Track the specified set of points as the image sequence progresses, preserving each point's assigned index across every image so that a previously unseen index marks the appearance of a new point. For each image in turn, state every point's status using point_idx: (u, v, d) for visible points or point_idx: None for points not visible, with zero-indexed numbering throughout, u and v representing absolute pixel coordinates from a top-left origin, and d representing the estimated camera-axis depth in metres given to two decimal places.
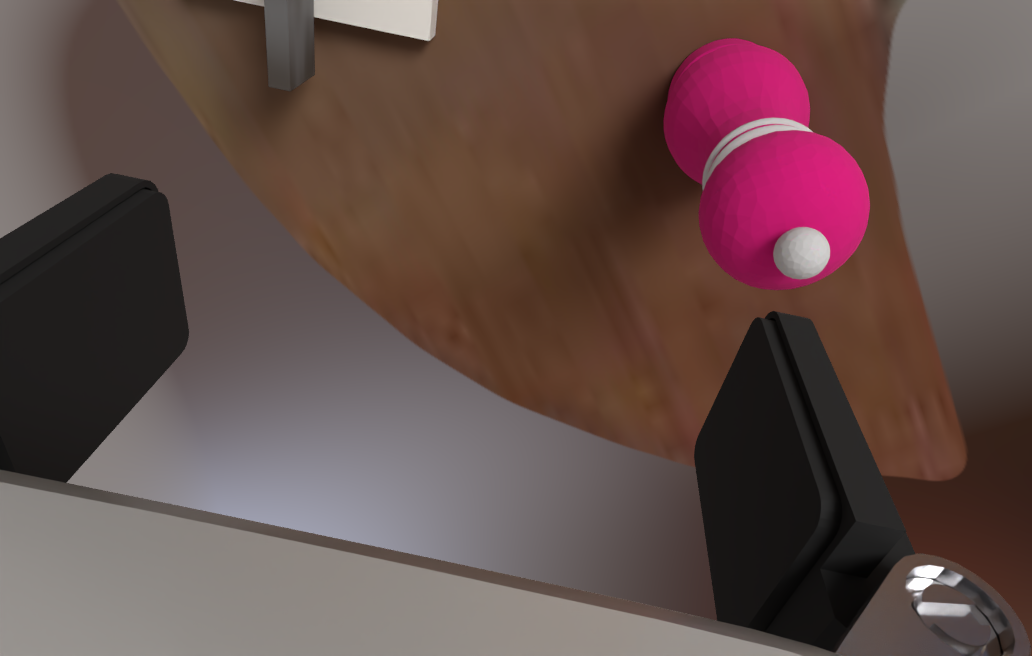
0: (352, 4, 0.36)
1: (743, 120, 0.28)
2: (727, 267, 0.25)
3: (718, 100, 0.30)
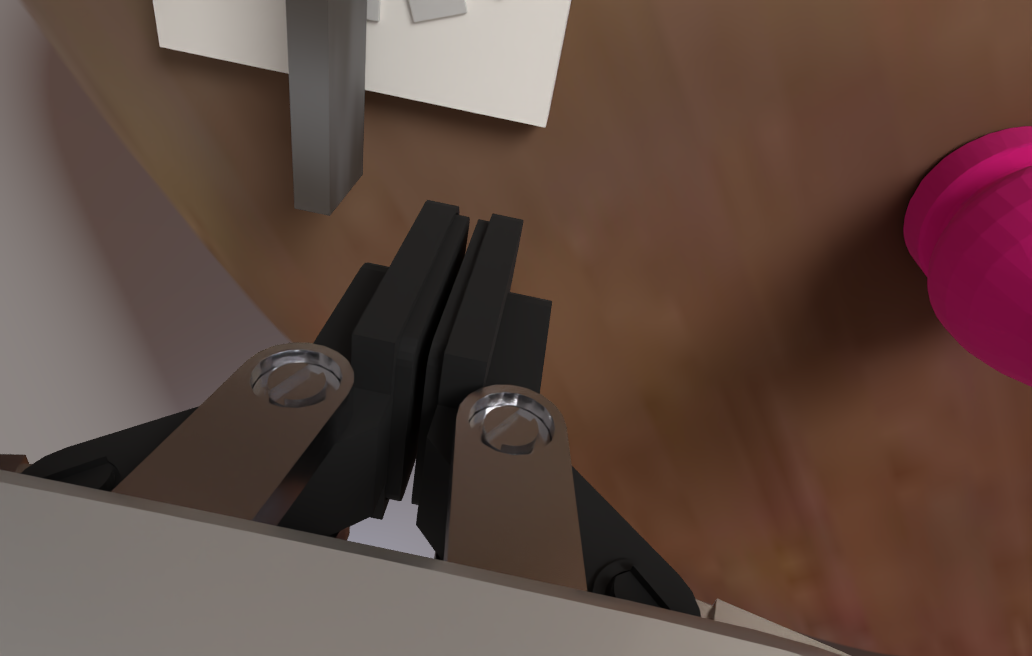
0: (426, 71, 0.22)
1: None
2: None
3: None
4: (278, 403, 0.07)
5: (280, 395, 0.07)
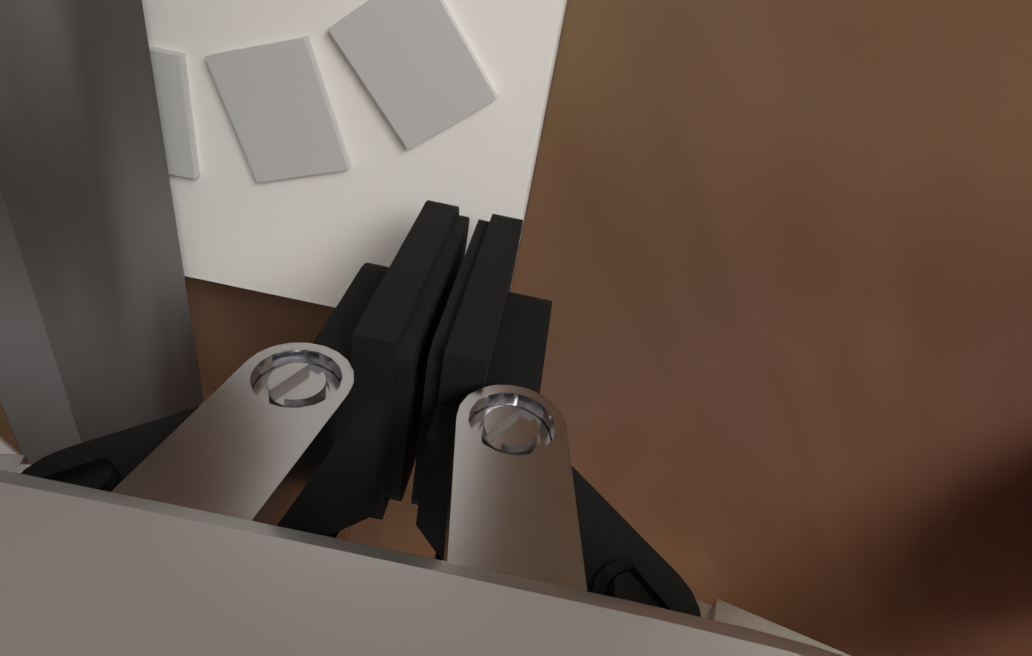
0: (290, 255, 0.13)
1: None
2: None
3: None
4: (278, 403, 0.07)
5: (280, 395, 0.07)
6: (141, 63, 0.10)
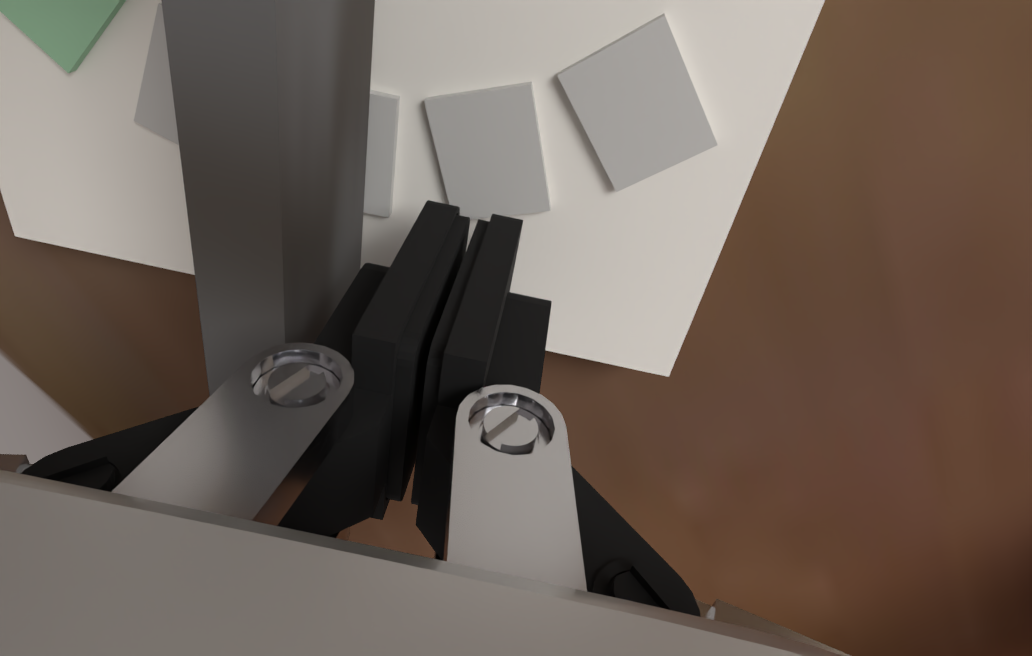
0: None
1: None
2: None
3: None
4: (279, 403, 0.07)
5: (281, 395, 0.07)
6: (364, 107, 0.10)
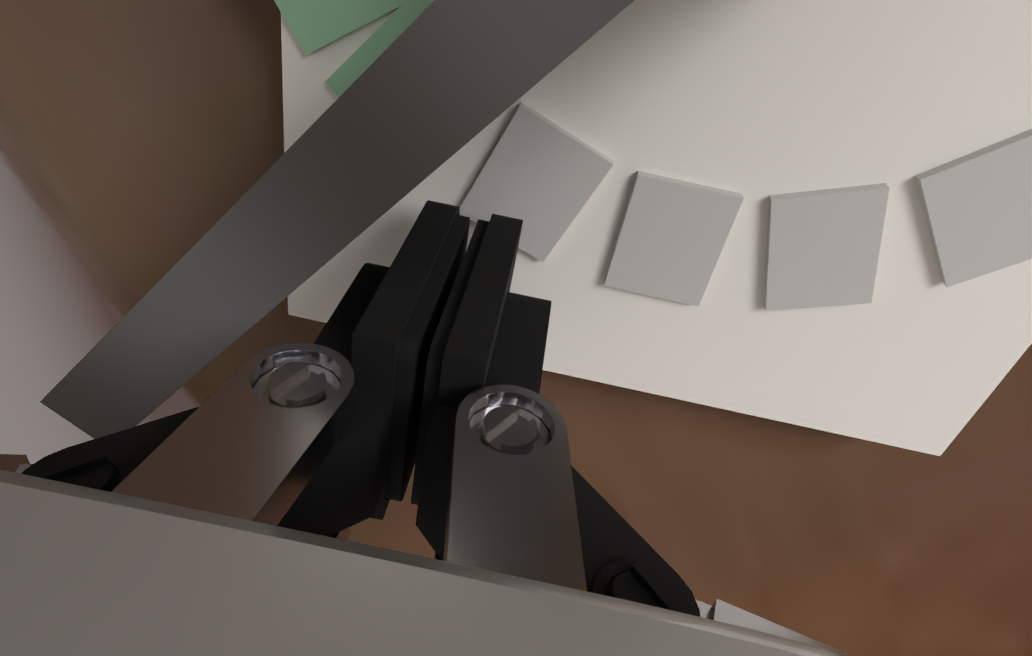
0: (756, 373, 0.13)
1: None
2: None
3: None
4: (279, 403, 0.07)
5: (281, 395, 0.07)
6: None
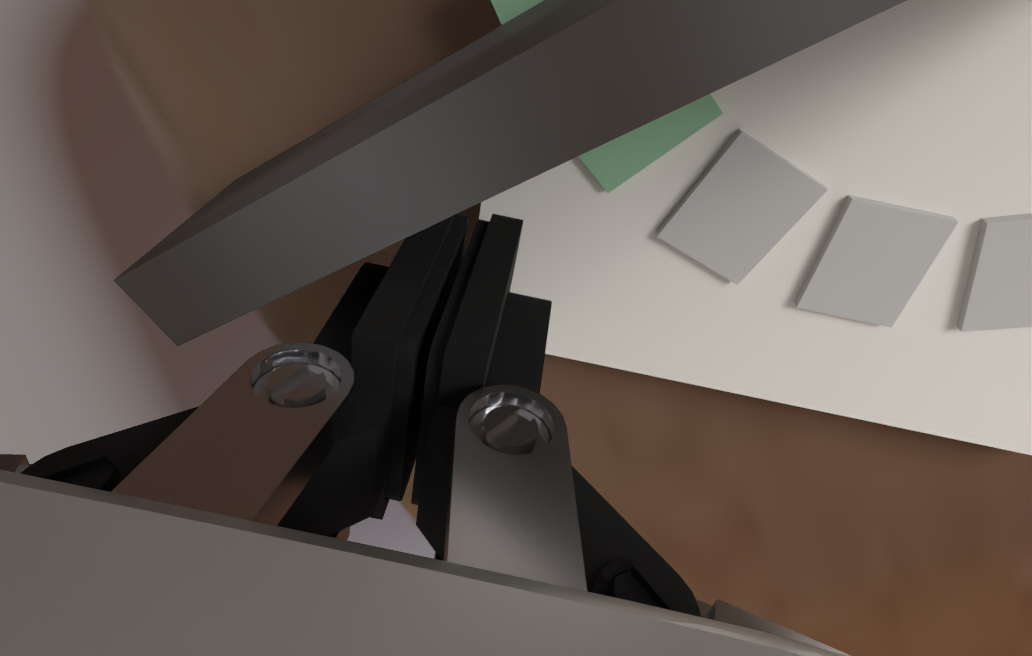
0: (936, 392, 0.13)
1: None
2: None
3: None
4: (278, 403, 0.07)
5: (280, 395, 0.07)
6: None
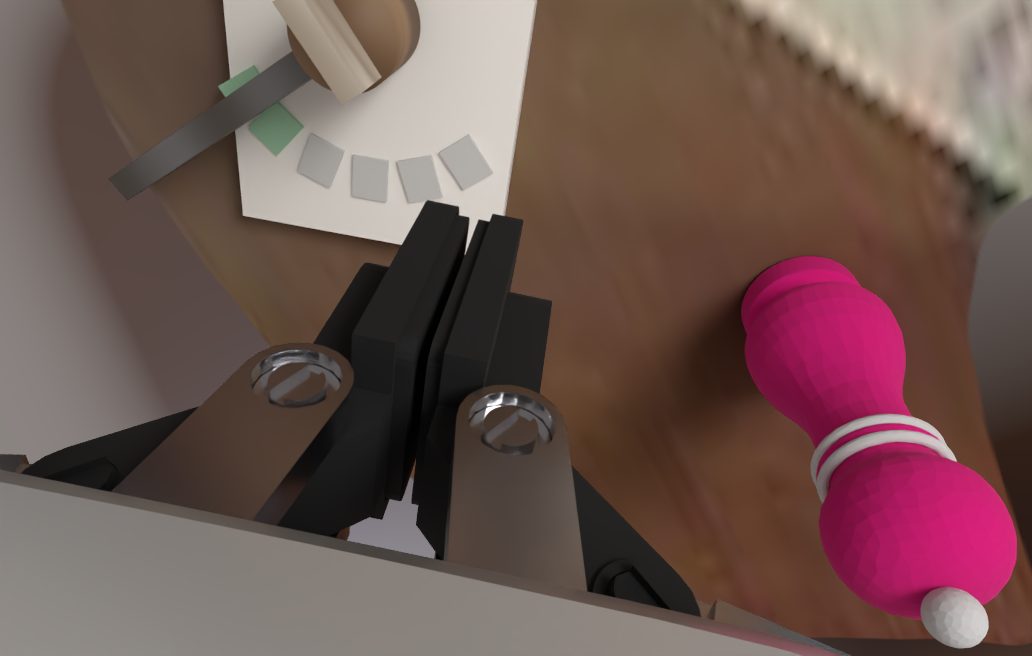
0: None
1: (850, 397, 0.27)
2: (857, 594, 0.23)
3: (815, 358, 0.29)
4: (278, 403, 0.07)
5: (280, 395, 0.07)
6: (271, 105, 0.31)
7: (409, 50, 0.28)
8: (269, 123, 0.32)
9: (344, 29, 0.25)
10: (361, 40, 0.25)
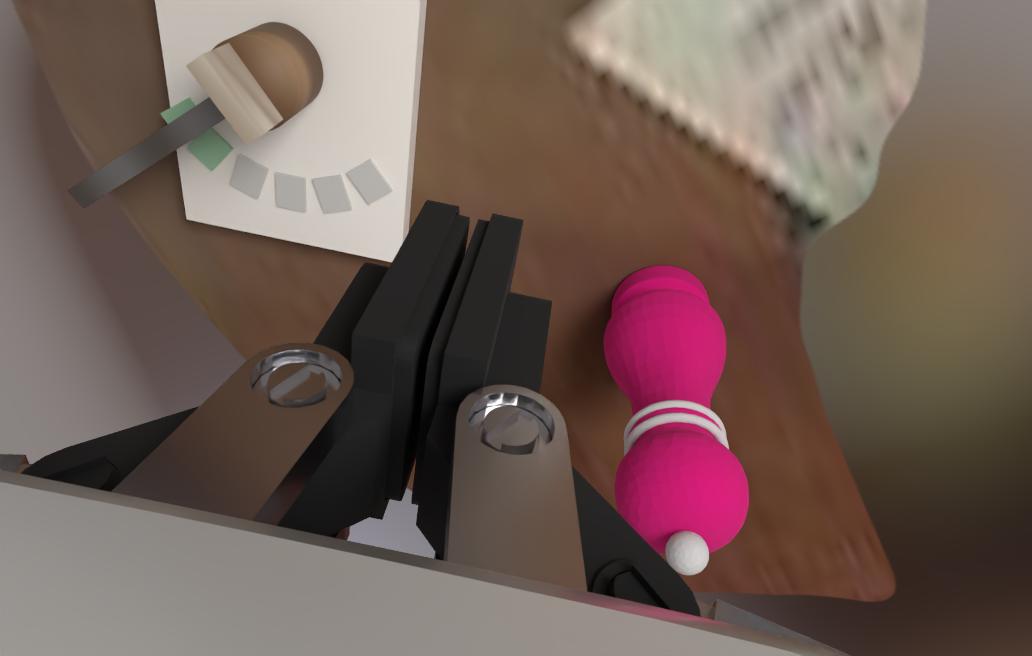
0: (333, 235, 0.41)
1: (658, 386, 0.33)
2: None
3: (642, 353, 0.35)
4: (278, 403, 0.07)
5: (280, 395, 0.07)
6: None
7: (311, 93, 0.34)
8: (204, 144, 0.38)
9: (249, 83, 0.31)
10: (265, 90, 0.32)
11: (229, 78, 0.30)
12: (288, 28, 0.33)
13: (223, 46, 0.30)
